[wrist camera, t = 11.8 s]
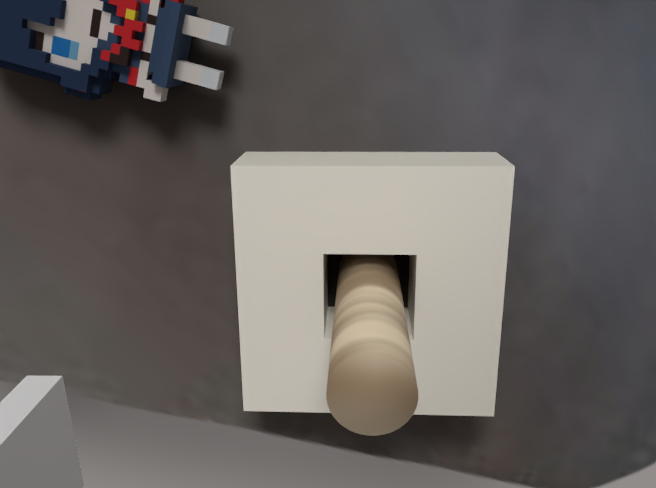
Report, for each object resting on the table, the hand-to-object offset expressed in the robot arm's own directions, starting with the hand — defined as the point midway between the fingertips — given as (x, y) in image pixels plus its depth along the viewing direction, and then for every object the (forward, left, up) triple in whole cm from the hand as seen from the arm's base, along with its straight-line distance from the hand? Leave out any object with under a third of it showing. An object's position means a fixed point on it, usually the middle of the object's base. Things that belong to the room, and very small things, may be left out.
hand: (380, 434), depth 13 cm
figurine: (-9, -16, -29) cm, 34 cm away
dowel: (+7, 0, -29) cm, 30 cm away
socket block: (+7, 0, -29) cm, 30 cm away
